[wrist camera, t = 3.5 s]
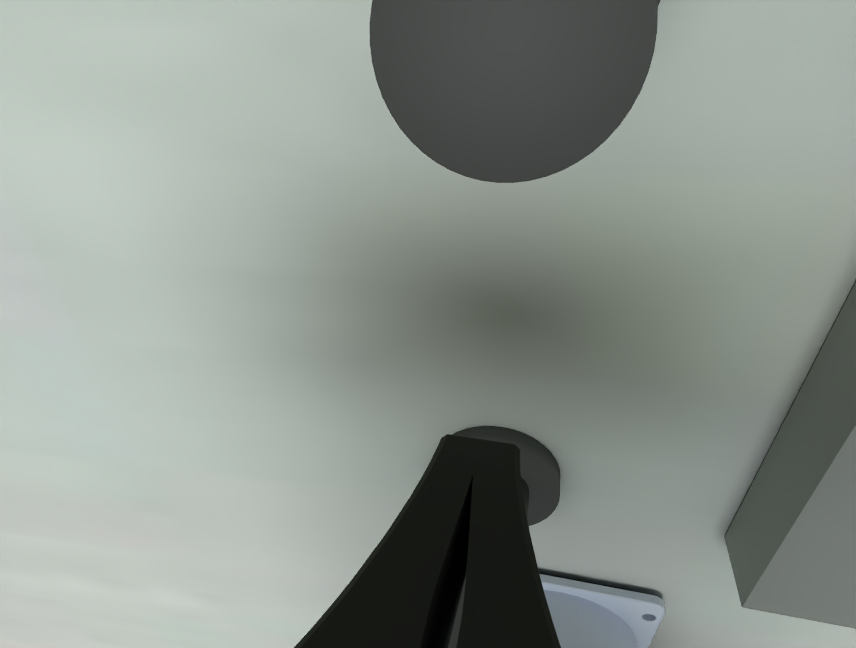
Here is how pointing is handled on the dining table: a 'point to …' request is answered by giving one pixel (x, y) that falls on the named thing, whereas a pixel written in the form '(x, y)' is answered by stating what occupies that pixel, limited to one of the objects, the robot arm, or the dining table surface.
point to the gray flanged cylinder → (535, 478)
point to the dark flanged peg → (510, 78)
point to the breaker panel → (806, 497)
